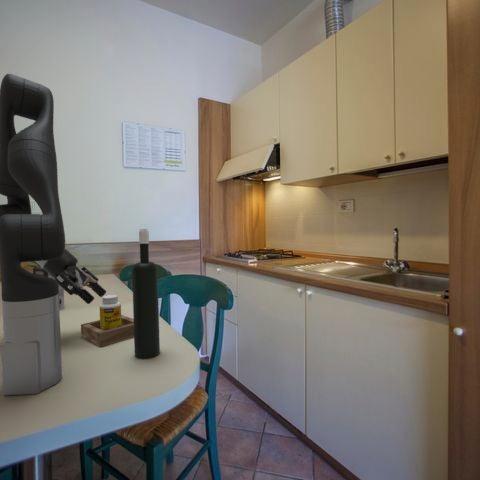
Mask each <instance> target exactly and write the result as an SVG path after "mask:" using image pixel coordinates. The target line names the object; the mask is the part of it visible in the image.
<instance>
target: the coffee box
mask: <svg viewBox="0 0 480 480" xmlns="http://www.w3.org/2000/svg"><path fill="white" fill-rule="evenodd" d="M32 270H33V271H32V273H33V274H35V275H39V276H44V277H49V278H53V277H52V276H51V275H50V274H49V273H48V272H47V271H45V270H44V269H43V268H42V267H40V266H37V268H34V267H32ZM53 279H55V278H53ZM58 286H59V311H61V310H65V290H64V289H63V288H62V287H61V286H60V285H59V284H58Z"/></svg>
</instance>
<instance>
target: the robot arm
mask: <svg viewBox="0 0 480 480" xmlns="http://www.w3.org/2000/svg"><path fill="white" fill-rule="evenodd" d="M54 103H55V102H54V95H53V92H52V91H51V89H50V88H48V87H47V86H45V85H43V84H41V83H38V82H35V81H34V80H33V81H32V80H30V79H27V78H24V77H21V76H18V75H17V74H16V75H15V74H12V73H6V74H5V75H4V76H3V78H2V80H1V84H0V195H2V196H3V197H4V196H5V197H6V201H7V203H3V204H0V282H1V284H0V285H1V309H2V331H3V343H2V344H1V347H0V350H1V372H2V373H1V374H2V390H3V391H2V395H3V396H15V395H16V396H17V395H19V396H20V395H37V394H39V393H40V392H41V391H44V390H46V389H48V388H51V387H52V386H54V385H55V384H57V383H59V382H60V381H61V379H62V378H63V364H62V363H63V361H62V358H63V357H62V340H61V317H60V316H61V315H60V311H61V310H59V286H58V284H59V285H60V286H61V287H62V288H63V289H64V292H66V293H67V294H68V295H70V296H73V295H75V296H78V297H79V298H80V299H81V300H82V301H83V302H84V303H86V304H87V305H89V304H91V303H92V302H94V300H95V297H94V296H93V295H92V294H91V293H90V292H89V291H88V290H87V289H86V288H84V287H88V288H90V289H91V291H93V292H94V293H95V294H96V295H97V296H99V297H100V298H102V297H104V296H105V295H106V293H107V290H105V288H104V287H102V286H101V285H100V284H99V278H98V277H97V276H96V275H95V274H94V273H92V272H91V271H90V270H89V269H88V268H86V267H85V266H82V267H81V268H79V267H78V266H77V264H78V258H77V257H75V255H73V254H72V253H71V252H70V251H69V250H67V248H66V234H65V227H64V220H63V214H62V207H61V202H60V197H59V184H58V183H59V181H58V177H59V176H58V161H57V153H56V151H57V150H56V145H55V135H54V108H55V105H54ZM16 116H17V117H21V118H24V119H28V120H32V121H34V122H33V123H32V124H30V125H29V126H27V127H25V128H24V129H21V130H20V131H19V132H17V131H16V127H15V117H16ZM30 197H31V198H32V200H34V201H35V203H36V205H37V206H38V208H39V209H40V210H41V214H40V213H38V214H37V213H34V214H33V213H32V207H31V199H30ZM31 261H34V262H37V263H38V264H39V265H40V266H41V267H42V268H43V269H44V270H45V271H47V272H48V273H49V274H50V275H51V276H52V277H53V278H55V279H53V278H49V277H44V276H39V275H35V274H33V272H30V271H29V270H26V269H24V268H23V267H22V265H21V263H27V262H29V263H32V262H31ZM40 266H39V267H40Z"/></svg>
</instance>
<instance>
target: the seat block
mask: <svg viewBox="0 0 480 480" xmlns="http://www.w3.org/2000/svg"><path fill="white" fill-rule="evenodd" d="M80 334H81V335H80V336H81V338H83V339H85V340H87V341H88V342H90V343H92V344H94V345H96V346H98V347H100V348H102V347H107V346H109V345H112V344H115V343H119V342H122V341H125V340H129V339H134V318H131V317H129V316H127V315H126V316H125V315H122V314H121V326H120V327H116V328H112V329H109V330H105V331H103V330H100V319H98V320H95V321H91V322H85V323H81V324H80Z"/></svg>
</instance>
